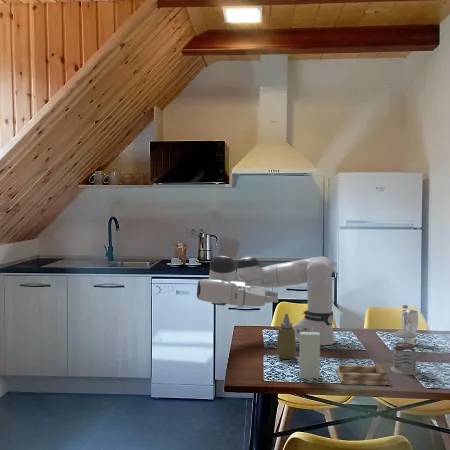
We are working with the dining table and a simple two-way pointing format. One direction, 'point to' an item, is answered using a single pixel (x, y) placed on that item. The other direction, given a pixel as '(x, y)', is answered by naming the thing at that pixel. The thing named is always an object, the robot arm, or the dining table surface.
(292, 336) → the squeeze bottle
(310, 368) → the tall white upright block
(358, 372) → the wooden tray
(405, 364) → the grey white tiered vessel
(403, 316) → the beer glass
